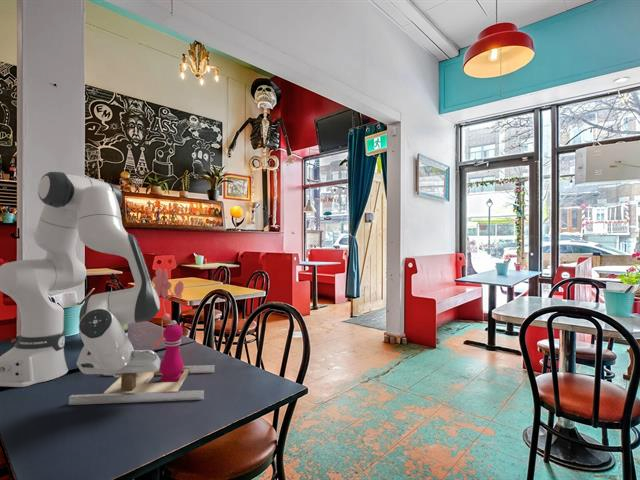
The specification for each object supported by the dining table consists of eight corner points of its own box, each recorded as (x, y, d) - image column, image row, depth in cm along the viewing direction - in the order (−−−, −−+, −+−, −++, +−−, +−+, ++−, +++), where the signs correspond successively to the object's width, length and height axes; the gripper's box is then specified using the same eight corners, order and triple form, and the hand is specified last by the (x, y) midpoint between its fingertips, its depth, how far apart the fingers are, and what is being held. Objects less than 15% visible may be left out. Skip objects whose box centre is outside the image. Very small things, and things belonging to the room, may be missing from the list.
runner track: (68, 404, 95) (68, 396, 95) (105, 374, 117) (105, 367, 117) (203, 399, 101) (203, 391, 101) (214, 371, 122) (214, 365, 122)
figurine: (160, 343, 152) (160, 265, 152) (193, 356, 137) (194, 269, 136) (123, 352, 140) (124, 267, 139) (156, 367, 125) (157, 272, 124)
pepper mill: (174, 386, 109) (176, 323, 109) (154, 383, 110) (156, 321, 110) (187, 377, 116) (189, 318, 116) (168, 375, 117) (170, 317, 117)
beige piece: (100, 401, 98) (101, 364, 98) (127, 375, 116) (128, 344, 116) (173, 398, 101) (174, 362, 101) (188, 373, 119) (189, 343, 119)
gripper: (157, 341, 97) (166, 363, 107) (79, 342, 94) (95, 365, 104) (151, 362, 93) (162, 383, 102) (69, 365, 90) (87, 386, 99)
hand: (128, 374), depth 103 cm, fingers open, 4 cm apart
